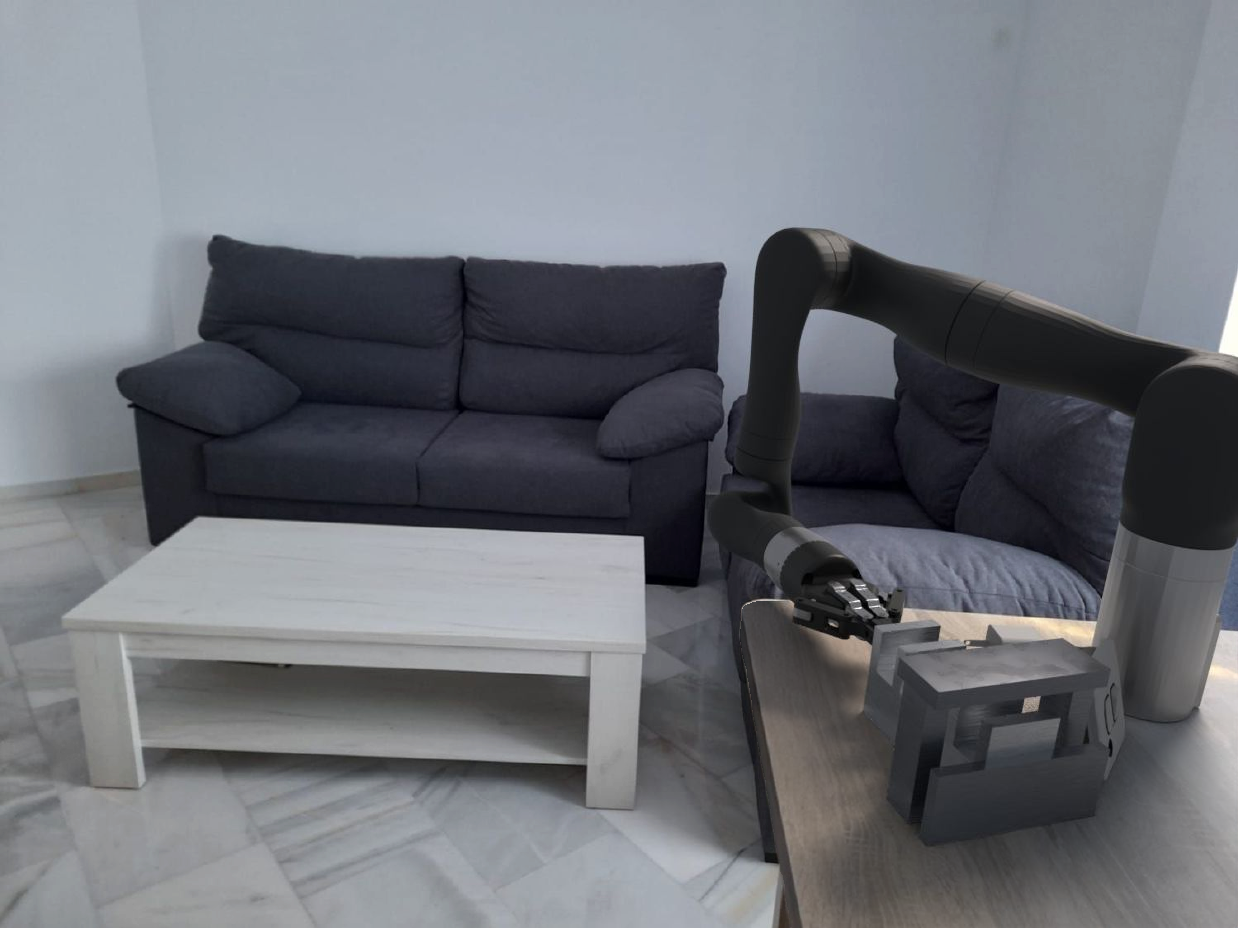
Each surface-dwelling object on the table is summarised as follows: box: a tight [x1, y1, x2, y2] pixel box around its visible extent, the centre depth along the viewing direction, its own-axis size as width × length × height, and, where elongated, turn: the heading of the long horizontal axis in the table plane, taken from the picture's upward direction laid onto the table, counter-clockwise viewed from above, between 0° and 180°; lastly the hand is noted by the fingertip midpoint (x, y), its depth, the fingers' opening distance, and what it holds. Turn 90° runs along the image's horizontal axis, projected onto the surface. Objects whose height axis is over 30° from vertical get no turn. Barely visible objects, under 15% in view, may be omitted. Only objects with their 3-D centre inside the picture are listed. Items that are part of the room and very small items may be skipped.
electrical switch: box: [1075, 638, 1126, 782], centre depth 76 cm, size 9×5×9 cm, turn 141°
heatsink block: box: [863, 619, 1060, 767], centre depth 74 cm, size 6×16×9 cm, turn 16°
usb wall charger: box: [963, 624, 1046, 648], centre depth 90 cm, size 4×7×4 cm, turn 88°
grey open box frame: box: [886, 637, 1111, 847], centre depth 68 cm, size 15×6×12 cm, turn 105°
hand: (898, 648), depth 80 cm, fingers closed
